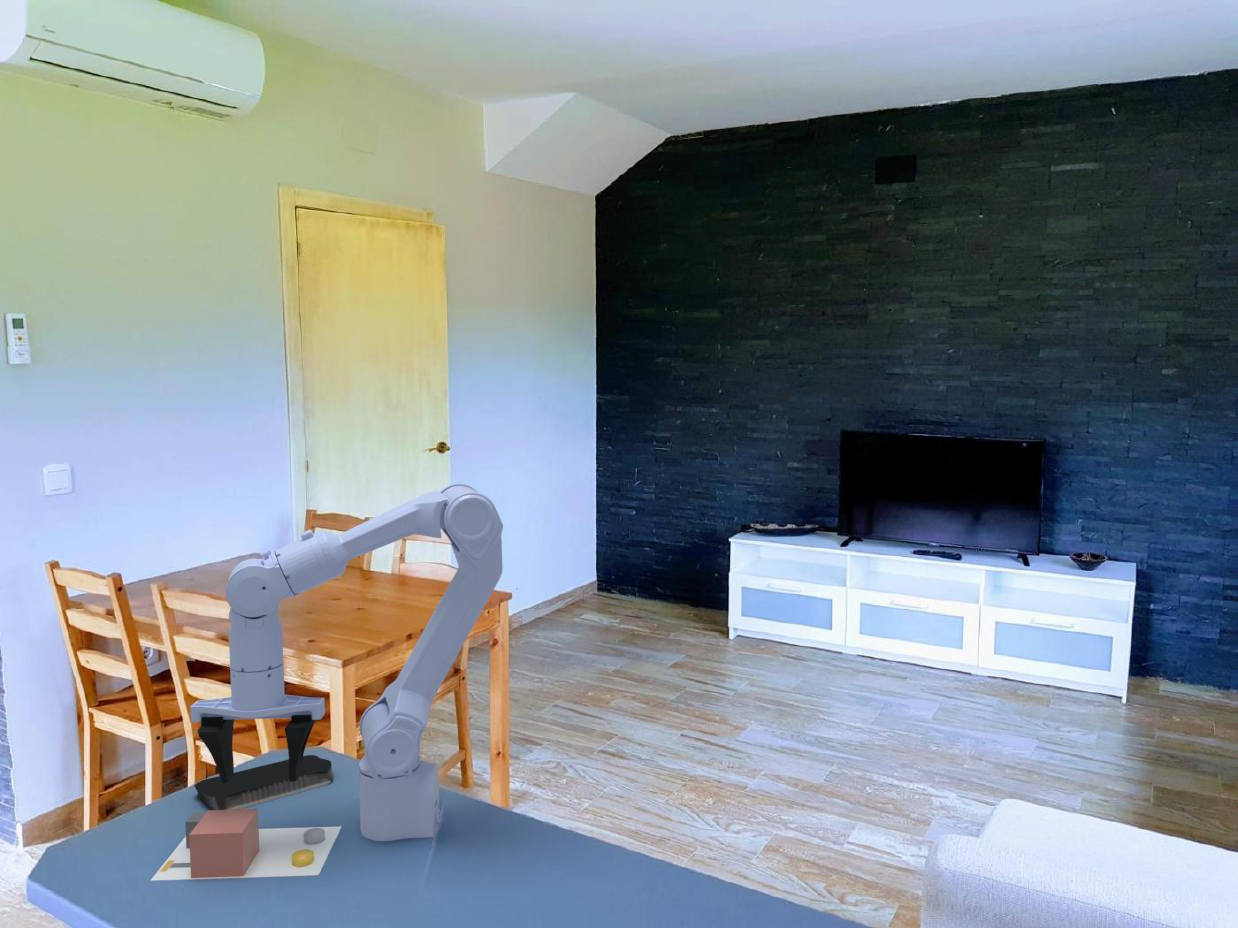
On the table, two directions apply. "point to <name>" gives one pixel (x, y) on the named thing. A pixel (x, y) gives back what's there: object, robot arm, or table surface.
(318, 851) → the breaker panel
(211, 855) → the reddish pink block
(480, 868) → the table surface
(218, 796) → the black brush
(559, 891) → the table surface
